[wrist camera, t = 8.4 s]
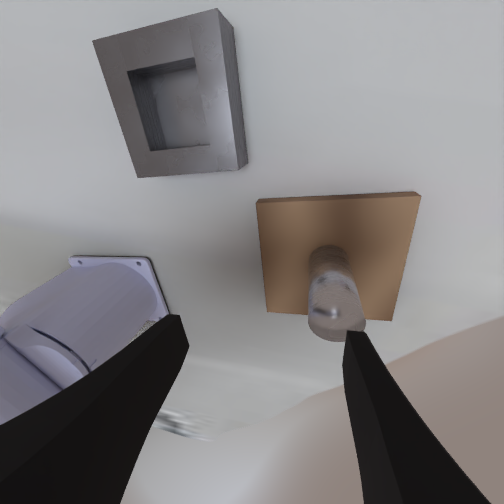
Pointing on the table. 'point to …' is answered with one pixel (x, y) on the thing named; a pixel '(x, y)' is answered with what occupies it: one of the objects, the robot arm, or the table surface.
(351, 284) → the silver metal cylinder
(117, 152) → the table surface
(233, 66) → the chuck block
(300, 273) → the pad
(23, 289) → the table surface
